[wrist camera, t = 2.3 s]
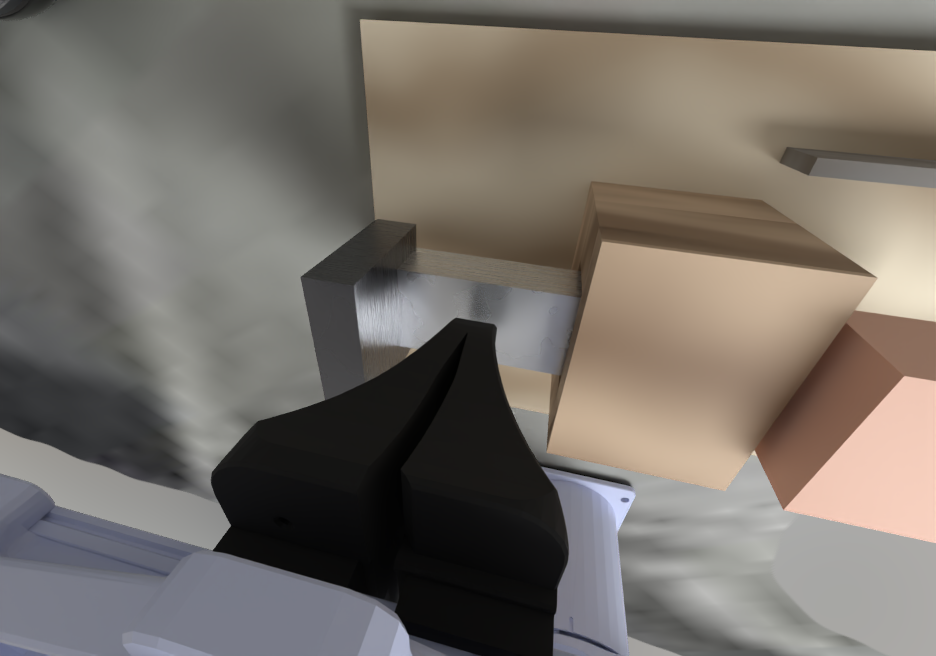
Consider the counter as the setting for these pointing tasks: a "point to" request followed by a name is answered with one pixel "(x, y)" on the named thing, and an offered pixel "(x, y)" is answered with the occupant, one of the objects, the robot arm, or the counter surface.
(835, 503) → the block
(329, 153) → the counter surface
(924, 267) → the stand
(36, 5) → the supplement container
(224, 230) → the counter surface
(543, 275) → the shaft
